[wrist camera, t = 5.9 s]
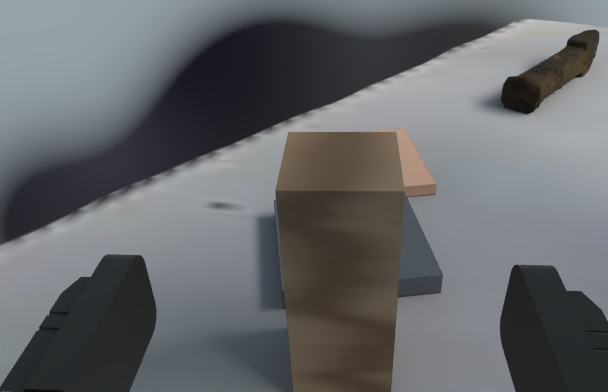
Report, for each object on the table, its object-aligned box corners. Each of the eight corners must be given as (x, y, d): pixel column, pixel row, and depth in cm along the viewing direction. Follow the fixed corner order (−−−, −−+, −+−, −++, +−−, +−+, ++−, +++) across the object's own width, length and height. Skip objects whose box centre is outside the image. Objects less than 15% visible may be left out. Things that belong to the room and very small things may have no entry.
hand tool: (532, 120, 54) (542, 76, 52) (497, 108, 57) (504, 66, 54) (613, 69, 65) (624, 30, 62) (579, 61, 67) (589, 24, 65)
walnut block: (385, 328, 32) (396, 131, 25) (390, 402, 28) (405, 191, 21) (301, 326, 32) (288, 132, 25) (293, 398, 28) (275, 190, 21)
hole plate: (401, 204, 43) (402, 188, 42) (440, 292, 34) (442, 274, 33) (275, 216, 42) (273, 200, 41) (283, 308, 34) (282, 290, 33)
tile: (403, 137, 52) (404, 128, 51) (435, 194, 44) (436, 183, 43) (300, 146, 51) (300, 137, 51) (312, 205, 43) (311, 195, 42)
